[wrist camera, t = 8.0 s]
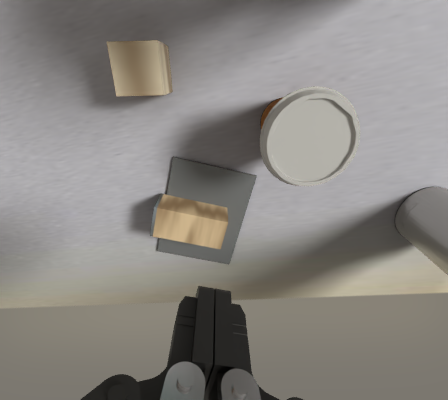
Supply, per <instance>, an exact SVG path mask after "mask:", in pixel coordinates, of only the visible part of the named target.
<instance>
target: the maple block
mask: <svg viewBox="0 0 448 400" xmlns="http://www.w3.org/2000/svg"><path fill="white" fill-rule="evenodd" d="M107 47H108V52H109V58H110V63H111V69H112V74H113V80H114V85H115V91H116V96H149V95H166V94H168V93H171V92H173V91H172V81H171V71H170V61H169V50H168V46H166V45H165V44H163V43H161V42H160V41H158V40H150V41H114V42H107Z"/></svg>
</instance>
